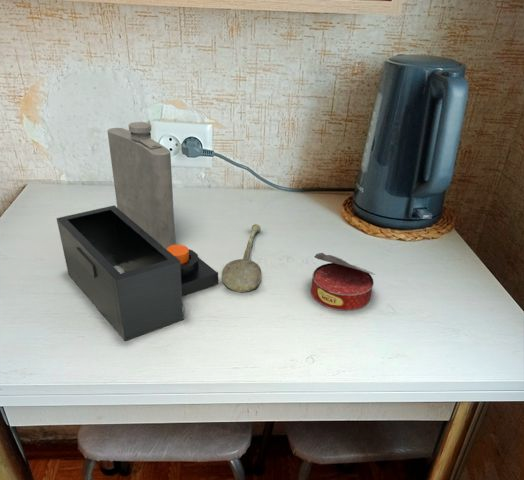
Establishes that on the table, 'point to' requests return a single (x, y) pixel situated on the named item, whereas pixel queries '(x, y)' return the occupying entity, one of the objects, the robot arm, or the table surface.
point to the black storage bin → (131, 261)
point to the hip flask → (143, 180)
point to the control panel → (196, 275)
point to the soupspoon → (243, 269)
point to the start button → (179, 252)
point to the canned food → (341, 284)
